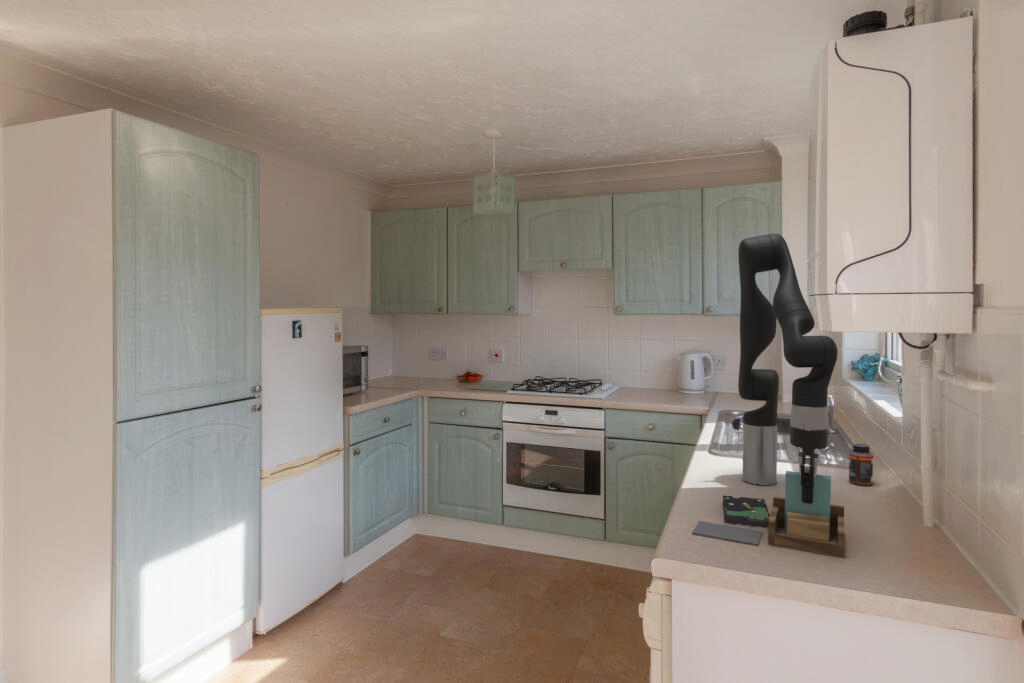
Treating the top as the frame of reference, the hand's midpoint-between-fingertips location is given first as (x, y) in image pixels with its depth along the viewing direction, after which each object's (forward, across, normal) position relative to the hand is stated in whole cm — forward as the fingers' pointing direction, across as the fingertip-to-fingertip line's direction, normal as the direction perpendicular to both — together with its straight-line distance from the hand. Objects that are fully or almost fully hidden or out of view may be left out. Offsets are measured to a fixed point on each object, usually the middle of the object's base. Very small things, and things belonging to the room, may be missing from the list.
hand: (807, 500), depth 129 cm
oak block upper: (+5, +5, 0) cm, 7 cm away
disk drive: (+9, -8, -14) cm, 18 cm away
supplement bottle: (+8, -49, +12) cm, 51 cm away
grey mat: (+8, +7, -16) cm, 19 cm away
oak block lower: (+8, +5, 0) cm, 10 cm away
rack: (+8, +3, 0) cm, 9 cm away
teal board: (+8, 0, 0) cm, 8 cm away
